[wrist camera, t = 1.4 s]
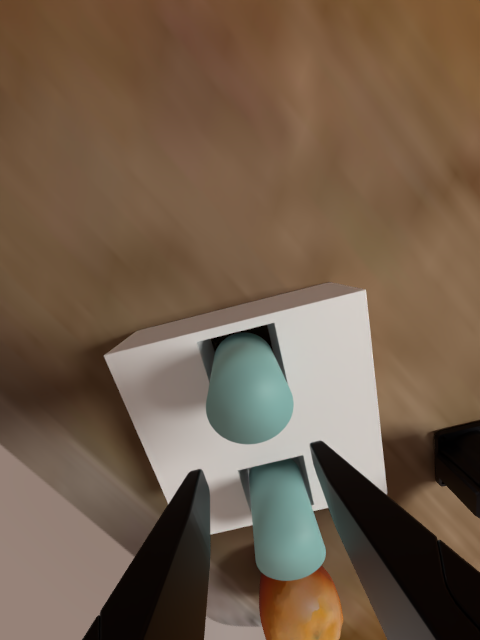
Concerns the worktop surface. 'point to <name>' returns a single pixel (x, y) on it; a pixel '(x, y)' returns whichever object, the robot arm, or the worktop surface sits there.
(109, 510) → the worktop surface
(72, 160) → the worktop surface
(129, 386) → the socket board
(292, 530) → the peg far
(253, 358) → the peg near
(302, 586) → the fruit
